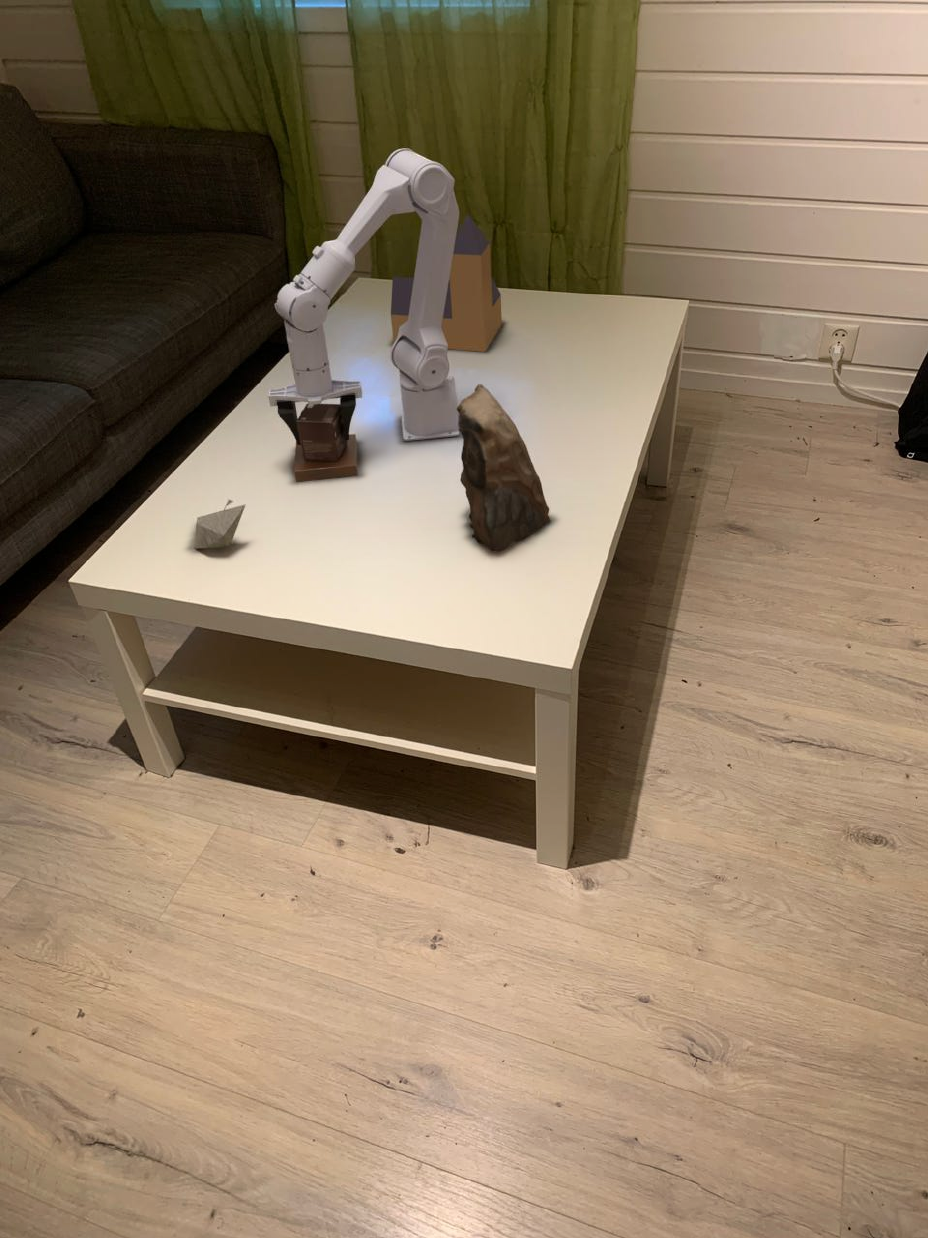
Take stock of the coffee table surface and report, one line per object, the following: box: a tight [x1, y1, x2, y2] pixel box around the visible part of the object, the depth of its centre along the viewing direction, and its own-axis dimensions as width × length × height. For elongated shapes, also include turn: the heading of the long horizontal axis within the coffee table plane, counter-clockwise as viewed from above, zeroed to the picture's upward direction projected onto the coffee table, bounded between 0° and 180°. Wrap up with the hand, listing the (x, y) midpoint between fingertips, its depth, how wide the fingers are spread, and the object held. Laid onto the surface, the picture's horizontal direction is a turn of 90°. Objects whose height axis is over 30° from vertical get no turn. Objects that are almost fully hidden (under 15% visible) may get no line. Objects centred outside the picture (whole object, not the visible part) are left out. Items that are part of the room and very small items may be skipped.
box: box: [296, 403, 347, 461], centre depth 163 cm, size 6×6×7 cm
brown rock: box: [457, 383, 551, 553], centre depth 144 cm, size 13×13×20 cm
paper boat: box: [194, 499, 247, 549], centre depth 150 cm, size 12×6×9 cm
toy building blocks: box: [390, 213, 503, 353], centre depth 192 cm, size 12×19×25 cm, turn 74°
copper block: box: [293, 433, 359, 483], centre depth 166 cm, size 10×10×2 cm
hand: (323, 439), depth 164 cm, fingers open, 7 cm apart
